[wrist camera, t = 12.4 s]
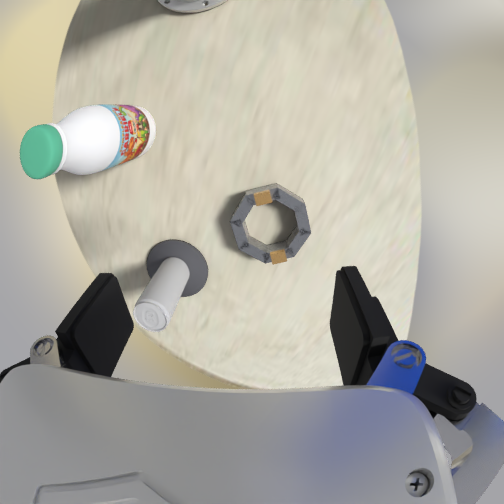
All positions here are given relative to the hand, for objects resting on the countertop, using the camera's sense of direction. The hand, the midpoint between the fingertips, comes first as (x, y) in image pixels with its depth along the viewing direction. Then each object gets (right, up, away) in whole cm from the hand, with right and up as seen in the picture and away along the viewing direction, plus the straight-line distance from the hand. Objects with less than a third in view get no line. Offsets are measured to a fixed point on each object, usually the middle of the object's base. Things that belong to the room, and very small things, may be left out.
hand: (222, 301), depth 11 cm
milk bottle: (-15, +19, +23) cm, 33 cm away
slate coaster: (-11, -1, +32) cm, 34 cm away
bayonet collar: (+4, +6, +28) cm, 29 cm away
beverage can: (-11, -1, +32) cm, 33 cm away
